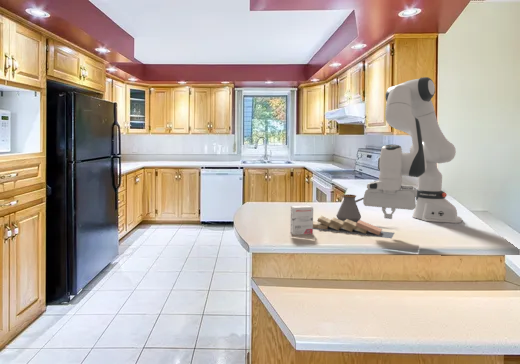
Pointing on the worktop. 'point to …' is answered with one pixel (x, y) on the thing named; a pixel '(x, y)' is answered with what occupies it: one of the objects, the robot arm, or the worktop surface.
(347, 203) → the coffee pot
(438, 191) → the robot arm
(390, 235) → the runner mat
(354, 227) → the domino
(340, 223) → the domino
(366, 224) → the domino
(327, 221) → the domino
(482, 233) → the worktop surface
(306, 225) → the ink box
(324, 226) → the domino
